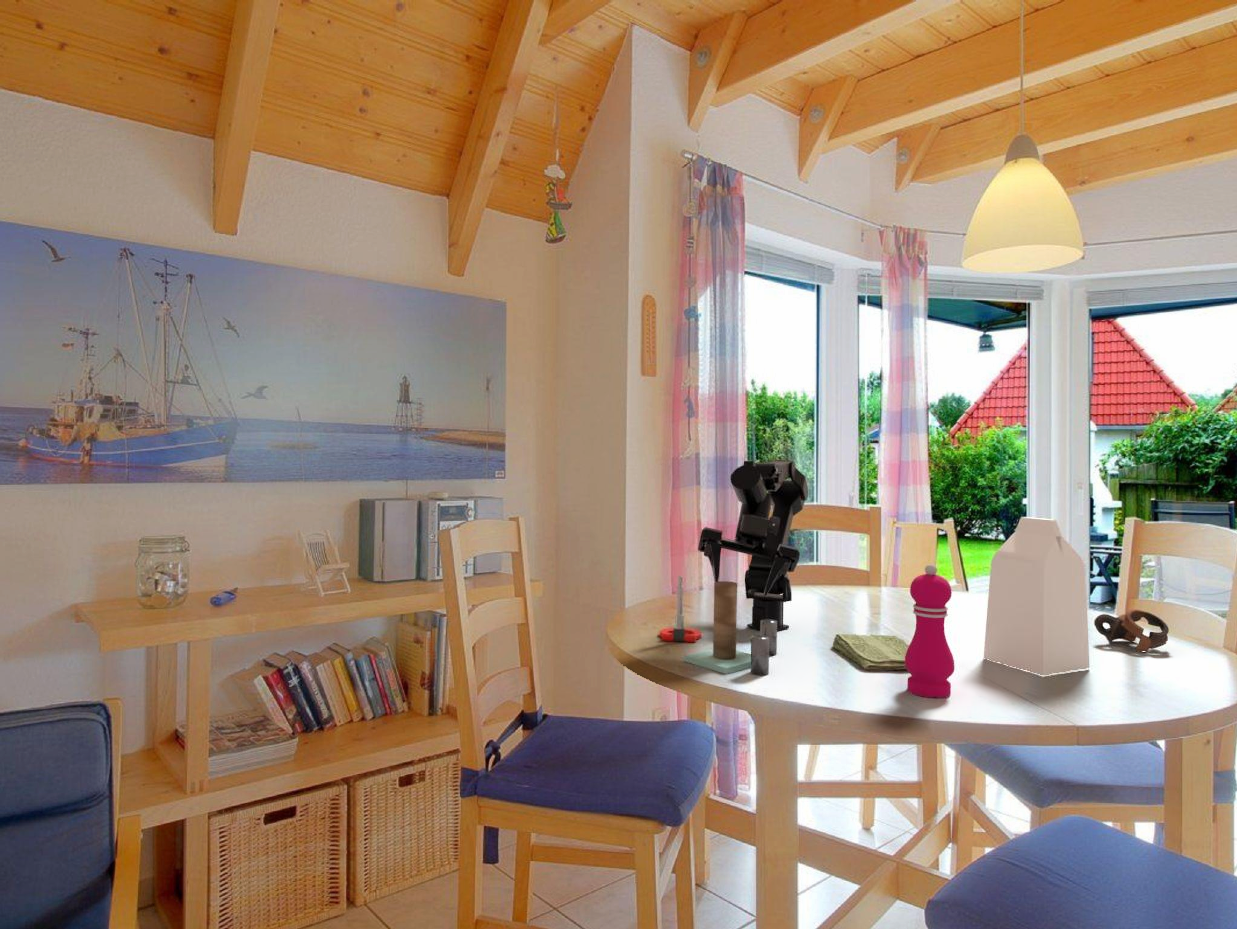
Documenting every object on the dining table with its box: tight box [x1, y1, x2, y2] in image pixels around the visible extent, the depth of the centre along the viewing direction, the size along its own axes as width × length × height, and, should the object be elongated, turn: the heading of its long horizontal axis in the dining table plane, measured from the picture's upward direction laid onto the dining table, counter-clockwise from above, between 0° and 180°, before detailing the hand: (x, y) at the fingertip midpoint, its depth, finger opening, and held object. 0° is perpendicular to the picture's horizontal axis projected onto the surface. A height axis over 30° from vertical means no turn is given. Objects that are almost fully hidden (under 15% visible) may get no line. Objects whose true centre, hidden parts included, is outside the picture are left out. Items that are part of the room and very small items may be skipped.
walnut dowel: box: [712, 580, 738, 660], centre depth 134 cm, size 4×4×13 cm
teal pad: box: [683, 648, 751, 675], centre depth 134 cm, size 10×10×1 cm
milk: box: [983, 516, 1090, 675], centre depth 135 cm, size 12×12×26 cm
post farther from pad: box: [759, 619, 778, 657], centre depth 141 cm, size 3×3×6 cm
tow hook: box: [659, 575, 702, 643], centre depth 153 cm, size 8×13×9 cm
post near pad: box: [750, 634, 770, 676], centre depth 128 cm, size 3×3×6 cm
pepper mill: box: [905, 563, 955, 698], centre depth 119 cm, size 7×7×20 cm
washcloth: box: [832, 633, 910, 671], centre depth 139 cm, size 13×18×3 cm
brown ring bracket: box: [1093, 609, 1170, 652], centre depth 148 cm, size 12×10×8 cm
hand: (740, 589), depth 141 cm, fingers open, 9 cm apart
